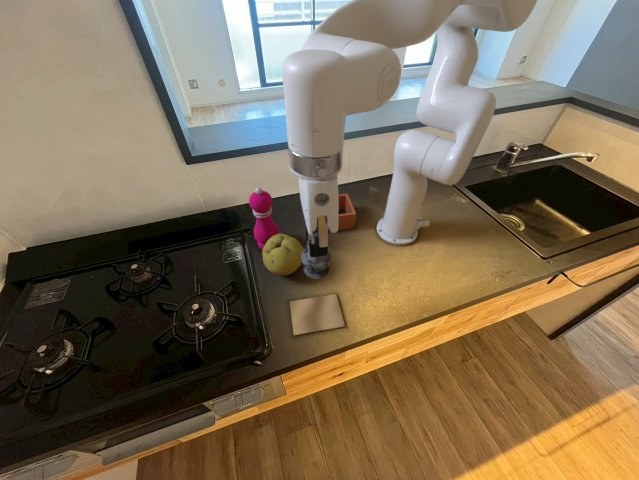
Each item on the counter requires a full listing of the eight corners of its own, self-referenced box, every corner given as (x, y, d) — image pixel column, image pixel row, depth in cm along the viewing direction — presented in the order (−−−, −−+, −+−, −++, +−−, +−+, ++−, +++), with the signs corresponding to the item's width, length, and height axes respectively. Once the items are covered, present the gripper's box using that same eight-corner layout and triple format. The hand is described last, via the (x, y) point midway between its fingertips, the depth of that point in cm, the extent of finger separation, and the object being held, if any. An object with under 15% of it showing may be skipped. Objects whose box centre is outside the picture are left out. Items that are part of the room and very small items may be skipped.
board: (336, 294, 71) (336, 293, 71) (345, 326, 65) (345, 326, 65) (289, 302, 70) (289, 301, 69) (293, 335, 64) (293, 335, 63)
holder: (346, 207, 96) (347, 193, 92) (354, 228, 89) (356, 213, 85) (315, 211, 95) (315, 197, 90) (321, 232, 87) (321, 218, 83)
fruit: (302, 249, 82) (301, 224, 75) (307, 281, 74) (305, 256, 67) (264, 253, 81) (259, 228, 74) (265, 286, 73) (259, 261, 66)
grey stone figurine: (327, 282, 54) (329, 238, 46) (298, 277, 55) (295, 233, 47) (332, 259, 58) (335, 216, 50) (305, 255, 59) (303, 211, 51)
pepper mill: (285, 240, 85) (278, 185, 71) (270, 255, 81) (259, 200, 66) (267, 232, 88) (257, 176, 73) (251, 246, 83) (237, 190, 69)
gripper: (358, 187, 34) (347, 279, 47) (329, 129, 45) (327, 216, 58) (296, 194, 33) (302, 285, 46) (283, 133, 44) (291, 220, 57)
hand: (316, 246), depth 52 cm, fingers closed on grey stone figurine, 3 cm apart
